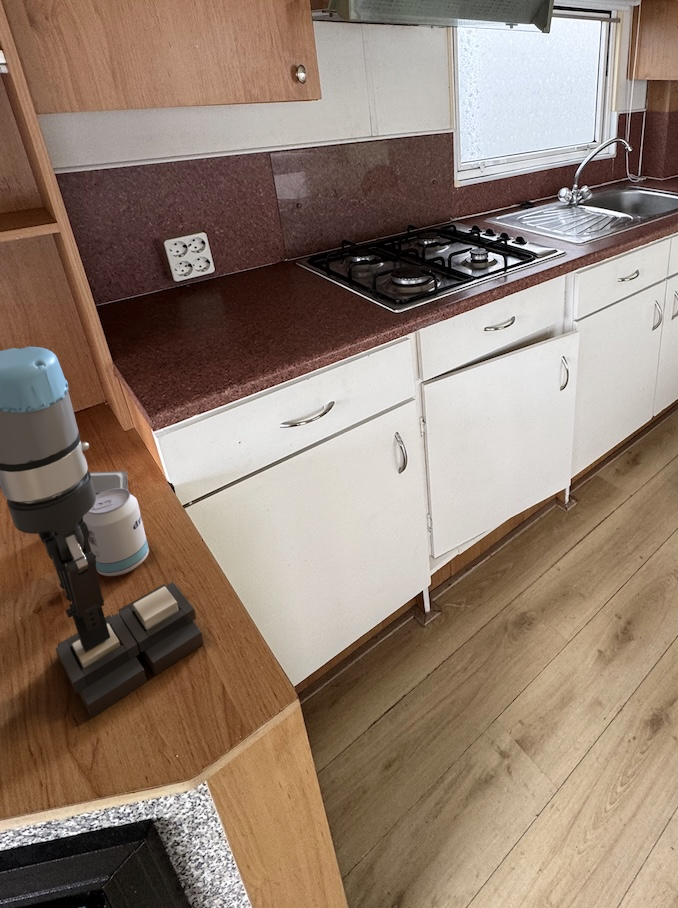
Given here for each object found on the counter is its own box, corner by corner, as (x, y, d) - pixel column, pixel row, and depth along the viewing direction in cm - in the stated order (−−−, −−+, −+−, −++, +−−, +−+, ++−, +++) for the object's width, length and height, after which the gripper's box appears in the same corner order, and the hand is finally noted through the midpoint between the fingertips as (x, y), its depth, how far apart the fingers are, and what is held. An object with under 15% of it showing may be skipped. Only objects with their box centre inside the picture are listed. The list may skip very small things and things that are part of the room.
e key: (135, 613, 77) (132, 603, 77) (166, 595, 80) (164, 585, 80) (146, 631, 75) (144, 621, 74) (179, 611, 78) (176, 601, 77)
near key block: (56, 659, 75) (49, 636, 73) (116, 624, 80) (110, 602, 78) (87, 721, 68) (79, 697, 66) (151, 679, 72) (145, 655, 71)
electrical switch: (63, 532, 96) (53, 482, 94) (82, 513, 101) (73, 465, 99) (122, 529, 97) (114, 480, 95) (138, 511, 102) (131, 464, 100)
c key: (74, 654, 72) (71, 643, 72) (110, 632, 75) (108, 622, 75) (85, 674, 70) (81, 663, 69) (122, 651, 73) (119, 641, 72)
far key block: (117, 623, 80) (111, 601, 79) (170, 593, 85) (165, 572, 83) (151, 678, 73) (145, 655, 71) (207, 641, 78) (202, 619, 76)
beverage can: (150, 570, 89) (135, 506, 85) (96, 588, 85) (78, 522, 81) (149, 541, 94) (135, 480, 90) (99, 557, 91) (81, 494, 87)
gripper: (107, 492, 63) (149, 651, 71) (70, 446, 71) (111, 594, 79) (22, 529, 57) (77, 697, 65) (-8, 475, 65) (44, 630, 73)
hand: (96, 641), depth 72 cm, fingers closed
